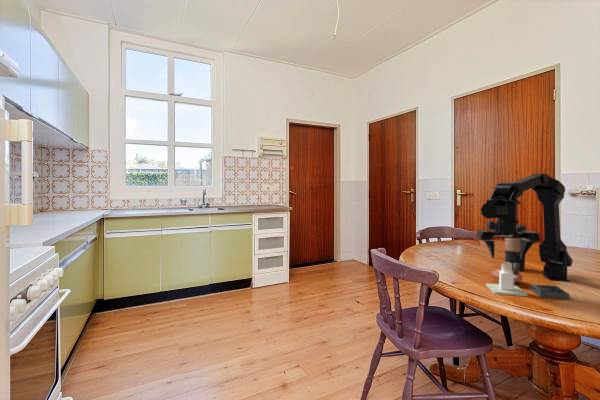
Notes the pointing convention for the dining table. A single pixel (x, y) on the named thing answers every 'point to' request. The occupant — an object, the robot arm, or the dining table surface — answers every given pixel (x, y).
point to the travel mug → (514, 249)
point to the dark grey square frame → (549, 291)
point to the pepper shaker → (506, 276)
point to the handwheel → (515, 271)
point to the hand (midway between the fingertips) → (506, 258)
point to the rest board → (497, 290)
